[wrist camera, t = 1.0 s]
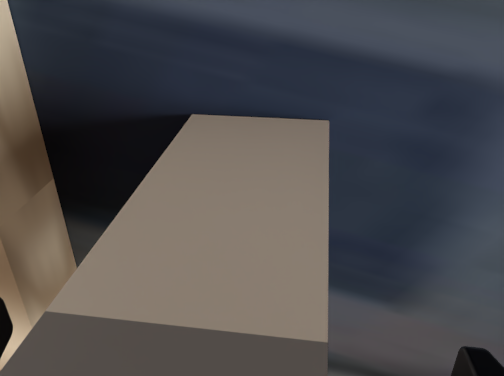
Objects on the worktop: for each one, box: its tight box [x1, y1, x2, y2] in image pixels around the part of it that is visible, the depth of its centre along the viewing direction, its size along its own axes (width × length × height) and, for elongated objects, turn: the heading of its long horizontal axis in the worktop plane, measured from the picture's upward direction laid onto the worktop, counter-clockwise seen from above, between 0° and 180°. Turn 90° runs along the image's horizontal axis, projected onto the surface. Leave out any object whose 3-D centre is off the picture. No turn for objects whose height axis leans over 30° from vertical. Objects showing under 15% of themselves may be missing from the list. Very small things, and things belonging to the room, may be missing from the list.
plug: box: [0, 114, 329, 376], centre depth 10 cm, size 4×4×10 cm
